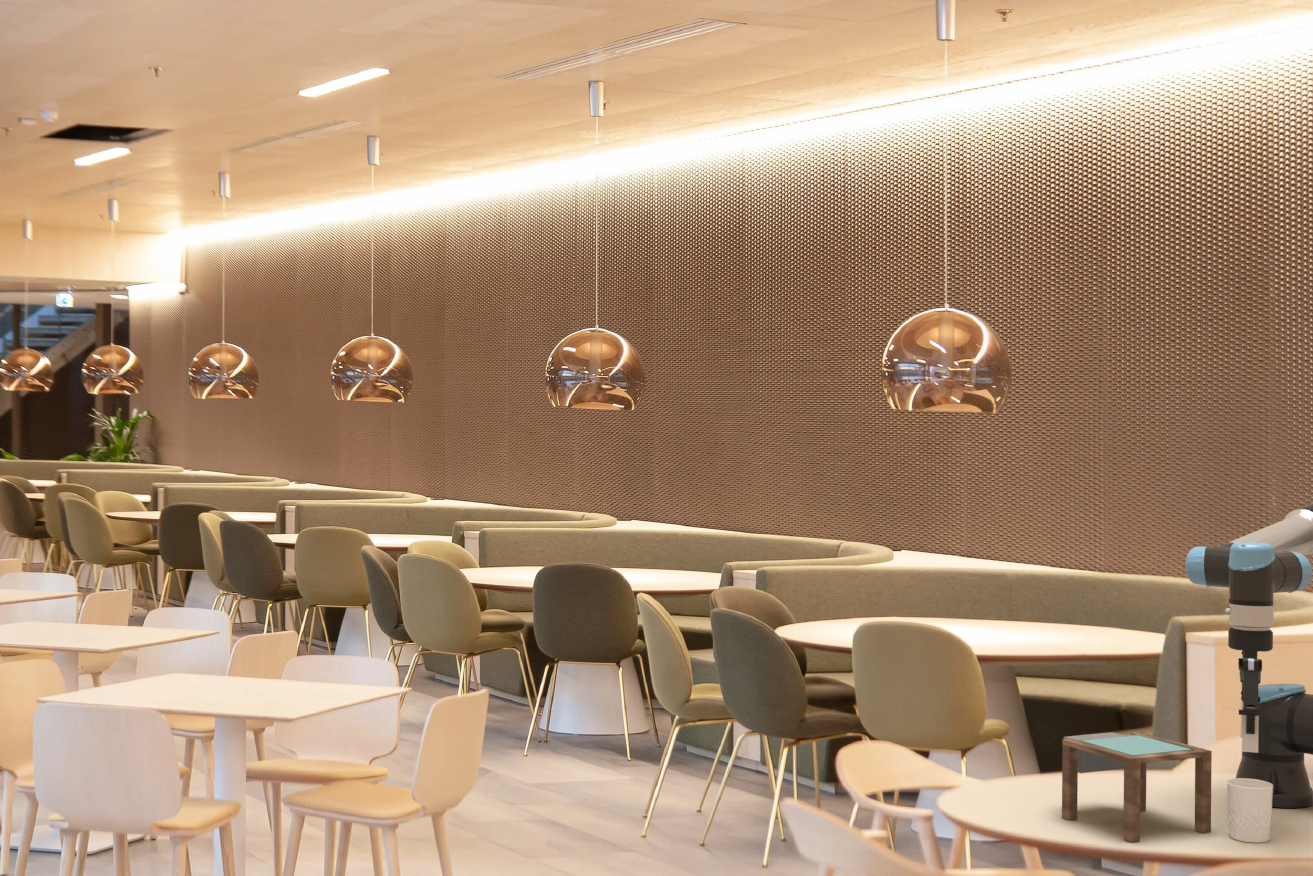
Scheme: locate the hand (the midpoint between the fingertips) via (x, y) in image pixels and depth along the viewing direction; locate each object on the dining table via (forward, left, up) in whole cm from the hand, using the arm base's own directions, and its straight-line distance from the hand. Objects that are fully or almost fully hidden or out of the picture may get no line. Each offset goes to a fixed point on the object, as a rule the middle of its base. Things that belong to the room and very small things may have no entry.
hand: (1249, 745), depth 267 cm
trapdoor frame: (+13, -15, -17) cm, 26 cm away
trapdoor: (+13, -18, -8) cm, 24 cm away
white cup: (0, 0, -17) cm, 17 cm away
